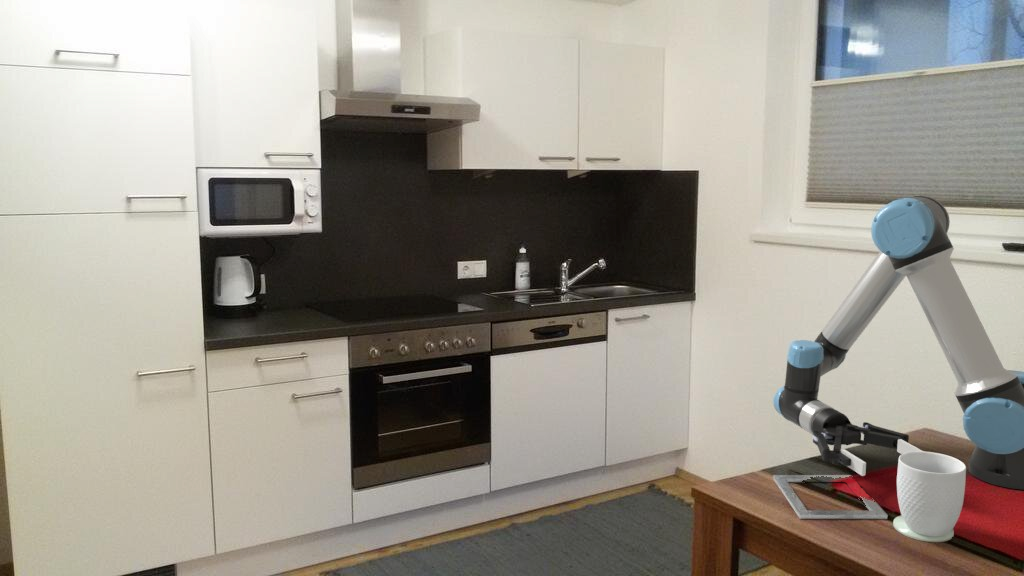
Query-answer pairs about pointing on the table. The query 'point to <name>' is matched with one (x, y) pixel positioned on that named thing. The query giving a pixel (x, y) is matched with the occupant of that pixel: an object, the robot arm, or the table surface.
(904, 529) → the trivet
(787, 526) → the table surface
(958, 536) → the table surface
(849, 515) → the grey rectangular frame
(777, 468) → the table surface
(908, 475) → the mug
